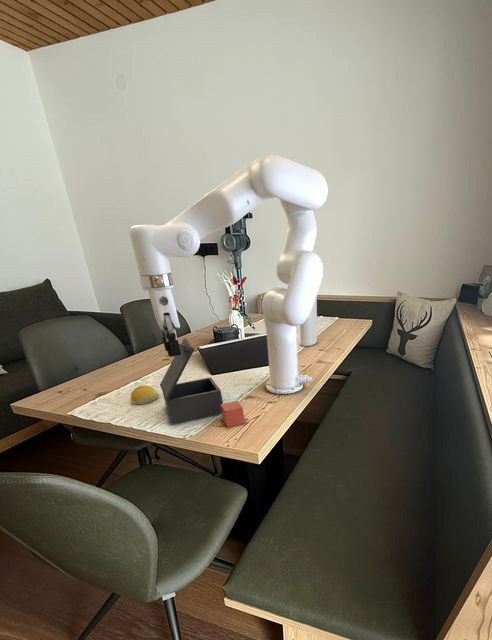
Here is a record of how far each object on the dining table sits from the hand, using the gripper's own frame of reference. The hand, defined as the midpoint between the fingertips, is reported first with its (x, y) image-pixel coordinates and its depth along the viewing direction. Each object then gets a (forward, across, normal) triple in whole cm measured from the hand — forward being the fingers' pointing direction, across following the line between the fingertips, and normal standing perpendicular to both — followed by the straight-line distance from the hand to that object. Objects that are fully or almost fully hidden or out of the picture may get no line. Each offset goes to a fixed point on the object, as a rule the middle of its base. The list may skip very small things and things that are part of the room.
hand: (173, 352), depth 98 cm
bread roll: (+19, +17, +10) cm, 27 cm away
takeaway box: (+19, 0, -2) cm, 19 cm away
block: (+19, -13, -11) cm, 25 cm away
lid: (+5, 0, 0) cm, 5 cm away
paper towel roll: (+20, +44, -64) cm, 80 cm away
